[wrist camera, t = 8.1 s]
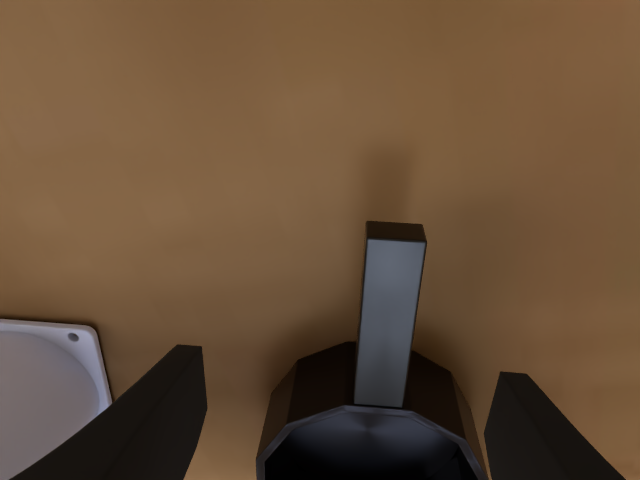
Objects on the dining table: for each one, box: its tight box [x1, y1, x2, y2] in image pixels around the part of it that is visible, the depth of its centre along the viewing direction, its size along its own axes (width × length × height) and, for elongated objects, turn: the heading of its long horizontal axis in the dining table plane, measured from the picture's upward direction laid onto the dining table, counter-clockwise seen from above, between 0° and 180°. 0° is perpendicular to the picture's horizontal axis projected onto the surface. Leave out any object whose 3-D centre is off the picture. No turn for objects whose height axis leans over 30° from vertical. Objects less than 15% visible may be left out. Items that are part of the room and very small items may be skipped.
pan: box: [256, 221, 489, 480], centre depth 21 cm, size 17×10×4 cm, turn 178°
